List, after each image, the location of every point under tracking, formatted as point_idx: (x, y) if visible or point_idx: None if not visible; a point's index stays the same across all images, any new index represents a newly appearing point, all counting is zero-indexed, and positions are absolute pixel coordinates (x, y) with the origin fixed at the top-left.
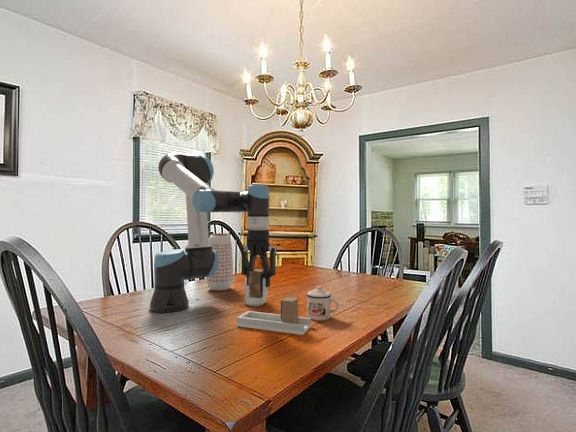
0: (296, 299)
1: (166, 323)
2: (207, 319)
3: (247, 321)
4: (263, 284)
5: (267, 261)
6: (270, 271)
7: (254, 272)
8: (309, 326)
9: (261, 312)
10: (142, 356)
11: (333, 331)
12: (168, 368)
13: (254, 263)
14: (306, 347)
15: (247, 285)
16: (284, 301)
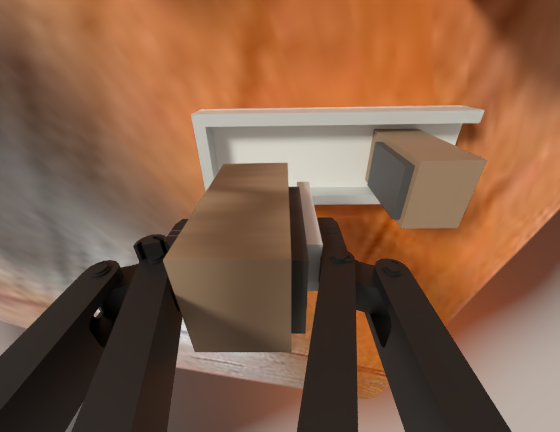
0: (474, 185)
1: (30, 241)
2: (83, 171)
3: None
4: None
5: (356, 411)
6: (383, 339)
7: (243, 347)
8: (459, 123)
9: (255, 113)
10: (179, 354)
11: (544, 121)
12: (244, 364)
13: (148, 361)
14: (443, 256)
15: None
16: (411, 225)
